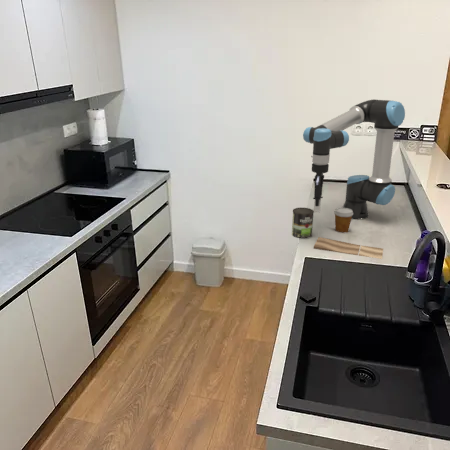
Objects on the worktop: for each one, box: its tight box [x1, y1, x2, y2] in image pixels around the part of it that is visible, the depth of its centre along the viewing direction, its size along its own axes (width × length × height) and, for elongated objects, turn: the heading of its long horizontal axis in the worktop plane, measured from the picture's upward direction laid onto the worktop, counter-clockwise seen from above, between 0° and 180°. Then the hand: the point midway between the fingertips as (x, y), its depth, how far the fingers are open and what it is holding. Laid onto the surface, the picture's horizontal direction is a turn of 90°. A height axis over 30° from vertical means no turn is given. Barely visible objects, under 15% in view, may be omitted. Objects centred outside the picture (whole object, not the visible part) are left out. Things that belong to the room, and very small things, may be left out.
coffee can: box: [291, 207, 315, 240], centre depth 215 cm, size 10×10×14 cm
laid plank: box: [358, 244, 384, 260], centre depth 197 cm, size 12×10×1 cm
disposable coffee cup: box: [334, 207, 353, 233], centre depth 221 cm, size 10×10×12 cm
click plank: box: [313, 236, 361, 256], centre depth 202 cm, size 12×20×1 cm, turn 68°
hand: (316, 211), depth 205 cm, fingers closed
